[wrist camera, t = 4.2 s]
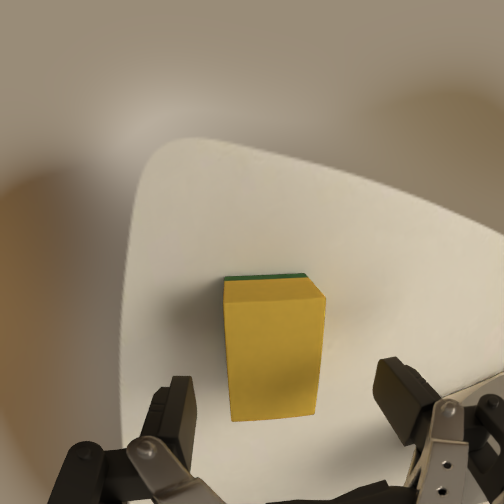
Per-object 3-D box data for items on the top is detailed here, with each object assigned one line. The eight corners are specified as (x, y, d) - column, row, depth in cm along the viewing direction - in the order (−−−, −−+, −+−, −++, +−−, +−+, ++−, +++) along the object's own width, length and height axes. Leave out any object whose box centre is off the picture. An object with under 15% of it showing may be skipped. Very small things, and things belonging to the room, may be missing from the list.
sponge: (300, 375, 18) (314, 415, 14) (230, 380, 18) (231, 422, 14) (304, 272, 17) (326, 297, 13) (224, 276, 16) (222, 303, 12)
